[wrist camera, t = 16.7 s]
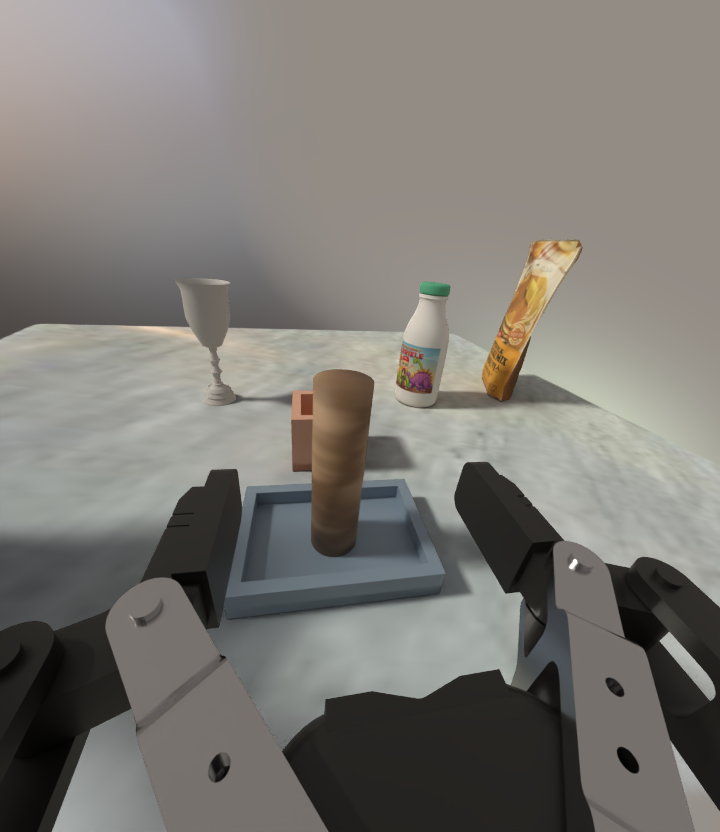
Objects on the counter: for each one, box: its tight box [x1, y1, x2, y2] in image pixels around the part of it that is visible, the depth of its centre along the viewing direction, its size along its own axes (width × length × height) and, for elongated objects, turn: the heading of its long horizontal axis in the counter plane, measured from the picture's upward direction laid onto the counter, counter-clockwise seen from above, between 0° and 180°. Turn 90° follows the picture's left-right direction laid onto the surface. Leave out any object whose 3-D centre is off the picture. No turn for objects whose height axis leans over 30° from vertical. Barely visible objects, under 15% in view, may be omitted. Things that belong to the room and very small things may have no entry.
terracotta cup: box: [291, 391, 313, 471], centre depth 39 cm, size 8×8×7 cm
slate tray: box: [224, 479, 446, 619], centre depth 27 cm, size 16×11×2 cm
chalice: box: [175, 278, 236, 406], centre depth 47 cm, size 7×7×18 cm
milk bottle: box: [395, 282, 450, 407], centre depth 53 cm, size 8×8×20 cm
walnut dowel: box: [311, 369, 374, 557], centre depth 24 cm, size 4×4×15 cm
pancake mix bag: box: [482, 239, 582, 401], centre depth 60 cm, size 7×19×28 cm, turn 167°
